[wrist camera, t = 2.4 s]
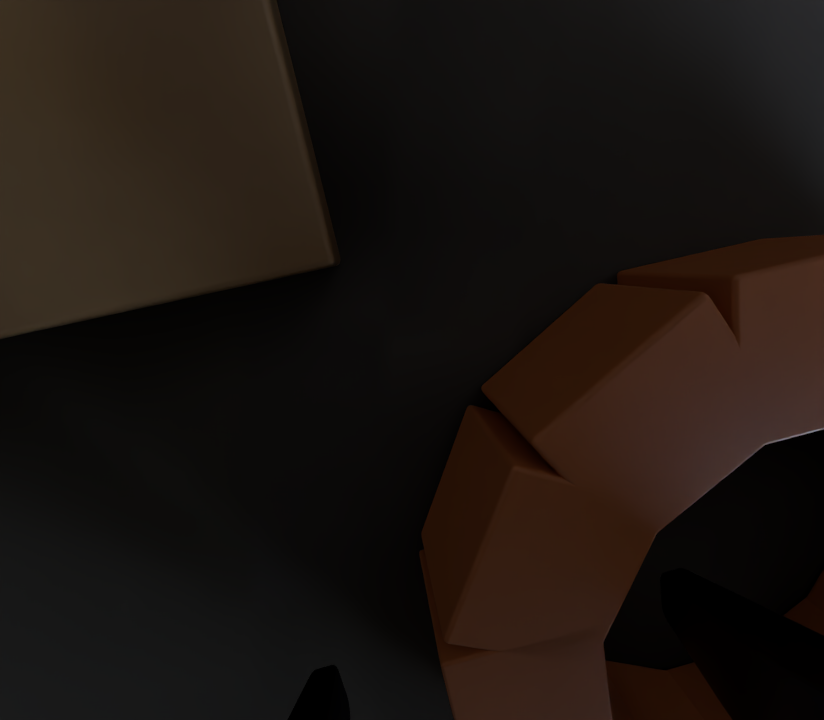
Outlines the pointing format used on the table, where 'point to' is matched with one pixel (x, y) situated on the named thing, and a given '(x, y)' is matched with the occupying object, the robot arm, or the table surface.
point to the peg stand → (149, 157)
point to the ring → (613, 475)
